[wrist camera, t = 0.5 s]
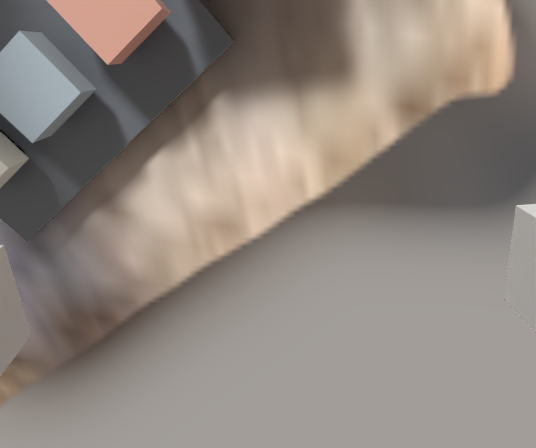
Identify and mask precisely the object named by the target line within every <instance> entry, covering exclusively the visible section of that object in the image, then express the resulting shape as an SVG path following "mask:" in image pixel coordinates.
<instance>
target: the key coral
mask: <svg viewBox="0 0 536 448" xmlns="http://www.w3.org/2000/svg"><path fill="white" fill-rule="evenodd" d="M46 1H47V2H48V3H49V4H50V5H51V6H52V7H53V8H54V9H55V10H56V11H57V12H58V13H59V14H60V15H61V16H62V17H63V18H64V19H65V21H66V22H67V23H68V24H69V25H70V26H71V27H72V28H73V29H74V30H75V31H76V32H77V33H78V34H79V35H80V36H81V37H82V38H83V39H84V41H85V42H86V43H87V44H88V45H89V46H90V47H91V48H92V49H93V50H94V51H95V52H96V53H97V54H98V55H99V56H100V57H101V58H102V59H103V61H104V62H105V63H106V64H107V65H112V64H122V62H123V61H124V60H125V59H126V58H127V57H128V56H129V55H130V54H131V53H132V52H133V51H134V50H135V49H136V48H137V47H138V46H139V45H140V44H141V43H142V42H143V41H144V40H145V39H146V38H147V37H148V36H149V35H150V34H151V33H152V32H153V31H154V30H155V29H156V27H157V26H158V25H159V24H160V23H161V22H162V21H163V20H164V19H165V18H166V17H167V16H168V15H169V14H170V13H171V11H170V10H169V9H168V8H167V7H166V6H165V4H164V3H163V2H162V1H161V0H46Z"/></svg>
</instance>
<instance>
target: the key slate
mask: <svg viewBox="0 0 536 448" xmlns="http://www.w3.org/2000/svg"><path fill="white" fill-rule="evenodd" d="M95 90H96V88H95V87H94V86H93V85H92V84H91V83H90V82H89V81H88V80H87V79H86V78H85V77H84V76H83V75H82V74H81V73H80V72H79V71H78V70H77V69H76V67H75V66H74V65H73V64H72V63H71V62H70V61H69V60H68V59H67V58H66V57H65V56H64V55H63V54H62V53H61V52H60V51H59V50H58V49H57V48H56V47H55V46H54V45H53V44H52V43H51V42H50V41H49V40H48V39H47V38H46V37H45V36H44V35H43V34H42V33H41V32H30V31H19V32H18V33H17V34H16V35H15V36H14V37H13V38H12V40H11V41H10V42H9V43H8V44H7V45H6V46H5V48H4V49H3V50H2V51H1V52H0V113H1V114H2V115H3V116H4V117H5V118H6V119H7V120H8V121H9V122H10V123H11V124H13V125H14V126H15V127H16V128H17V129H18V130H19V131H20V132H21V133H22V134H23V135H24V136H25V137H26V138H27V139H29V140H30V141H31V142H32V143H34V142H36V141H39V140H41V139H44V138H47V137H49V136H52V135H53V134H54V133H55V131H56V130H57V129H58V128H59V127H60V126H61V125H62V124H63V123H64V122H65V121H66V120H67V119H68V118H69V117H70V116H71V115H72V114H73V113H74V112H75V111H76V110H77V109H78V108H79V107H80V106H81V105H82V104H83V103H84V102H85V101H86V100H87V99H88V98H89V96H90V95H91V94H92V93H93V92H94V91H95Z"/></svg>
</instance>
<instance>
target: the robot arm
mask: <svg viewBox="0 0 536 448" xmlns="http://www.w3.org/2000/svg"><path fill="white" fill-rule="evenodd" d="M504 300H505V301H506V302H507V303H508V304H509V305H510V307H511V308H512V309H513V310H514V311H515V312H516V313H517V314H518V315H519V316H520V317H521V318H522V319H523V320H524V321H525V322H526V323H527V324H528V325H529V326H530V327H531V328H532V329H533V330H534V331H535V332H536V204H530V205H517V206H516V210H515V218H514V225H513V233H512V241H511V248H510V256H509V264H508V272H507V279H506V287H505V294H504ZM31 336H32V334H31V330H30V327H29V324H28V321H27V317H26V314H25V311H24V308H23V305H22V301H21V298H20V295H19V292H18V288H17V285H16V282H15V279H14V276H13V272H12V269H11V266H10V263H9V259H8V256H7V253H6V250H5V247H4V245H0V376H1V375H2V373H3V372H4V371H5V370H6V368H7V367H8V366H9V364H10V363H11V362H12V361H13V359H14V358H15V357H16V355H17V354H18V353H19V351H20V350H21V349H22V348H23V346H24V345H25V344H26V342H27V341H28V340H29V338H30V337H31Z"/></svg>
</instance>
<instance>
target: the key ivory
mask: <svg viewBox="0 0 536 448" xmlns="http://www.w3.org/2000/svg"><path fill="white" fill-rule="evenodd" d="M28 159H29V158H28V157H27V156H26V155H25V154H24V153H23V152H22V151H21V150H20V149H19V148H17V147H16V146H15V145H14V144H13V143H12V142H11V141H10V140H9V139H8V138H7V137H6V136H4V135H3V134H2V133H1V132H0V188H1V187H2V186H3V185H4V184H5V183H6V182H7V181H8V180H9V179H10V178H11V177H12V176H13V175H14V174H15V173H16V172H17V171H18V170H19V169H20V168H21V166H22V165H23V164H24V163H25V162H26V161H27V160H28Z"/></svg>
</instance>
